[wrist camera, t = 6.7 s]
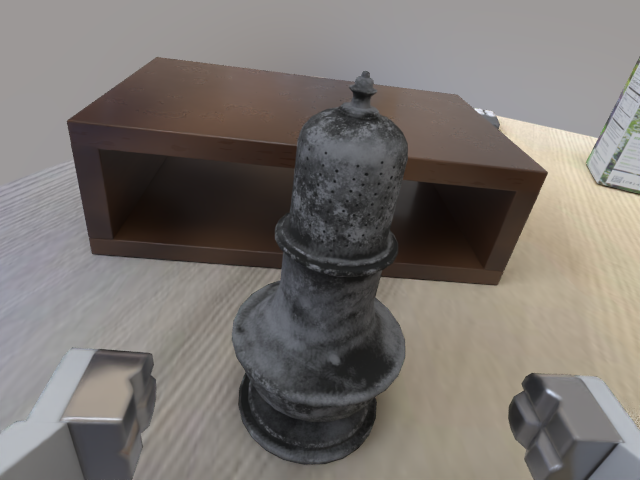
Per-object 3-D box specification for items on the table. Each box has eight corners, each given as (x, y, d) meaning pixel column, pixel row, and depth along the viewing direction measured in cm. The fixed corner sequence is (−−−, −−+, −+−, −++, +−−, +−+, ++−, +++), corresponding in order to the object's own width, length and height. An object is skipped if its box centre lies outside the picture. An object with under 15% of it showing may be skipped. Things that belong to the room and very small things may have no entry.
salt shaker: (266, 324, 19) (291, 36, 13) (394, 365, 18) (489, 73, 12) (199, 437, 15) (185, 67, 8) (367, 500, 14) (502, 134, 7)
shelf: (91, 254, 22) (65, 120, 18) (162, 151, 34) (156, 56, 30) (497, 285, 24) (549, 172, 21) (433, 179, 36) (458, 94, 32)
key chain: (462, 116, 54) (466, 104, 54) (492, 121, 54) (496, 109, 53) (476, 151, 44) (481, 137, 43) (513, 158, 43) (519, 144, 42)
